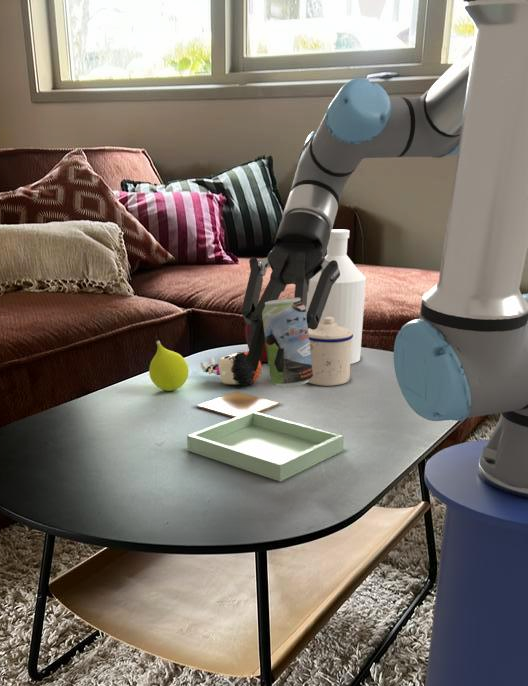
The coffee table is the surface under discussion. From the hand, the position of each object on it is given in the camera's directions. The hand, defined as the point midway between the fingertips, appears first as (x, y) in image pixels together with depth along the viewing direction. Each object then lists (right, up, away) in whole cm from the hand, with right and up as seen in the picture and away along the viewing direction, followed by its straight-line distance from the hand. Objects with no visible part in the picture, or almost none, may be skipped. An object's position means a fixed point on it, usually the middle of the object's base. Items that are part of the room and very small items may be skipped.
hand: (265, 367), depth 104 cm
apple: (+2, +11, +53) cm, 54 cm away
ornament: (-16, +2, +36) cm, 39 cm away
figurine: (-5, +5, +40) cm, 41 cm away
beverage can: (+3, -2, +4) cm, 5 cm away
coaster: (-4, -2, +27) cm, 27 cm away
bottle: (+16, +12, +54) cm, 58 cm away
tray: (0, -11, +8) cm, 13 cm away
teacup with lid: (+12, +5, +40) cm, 41 cm away
